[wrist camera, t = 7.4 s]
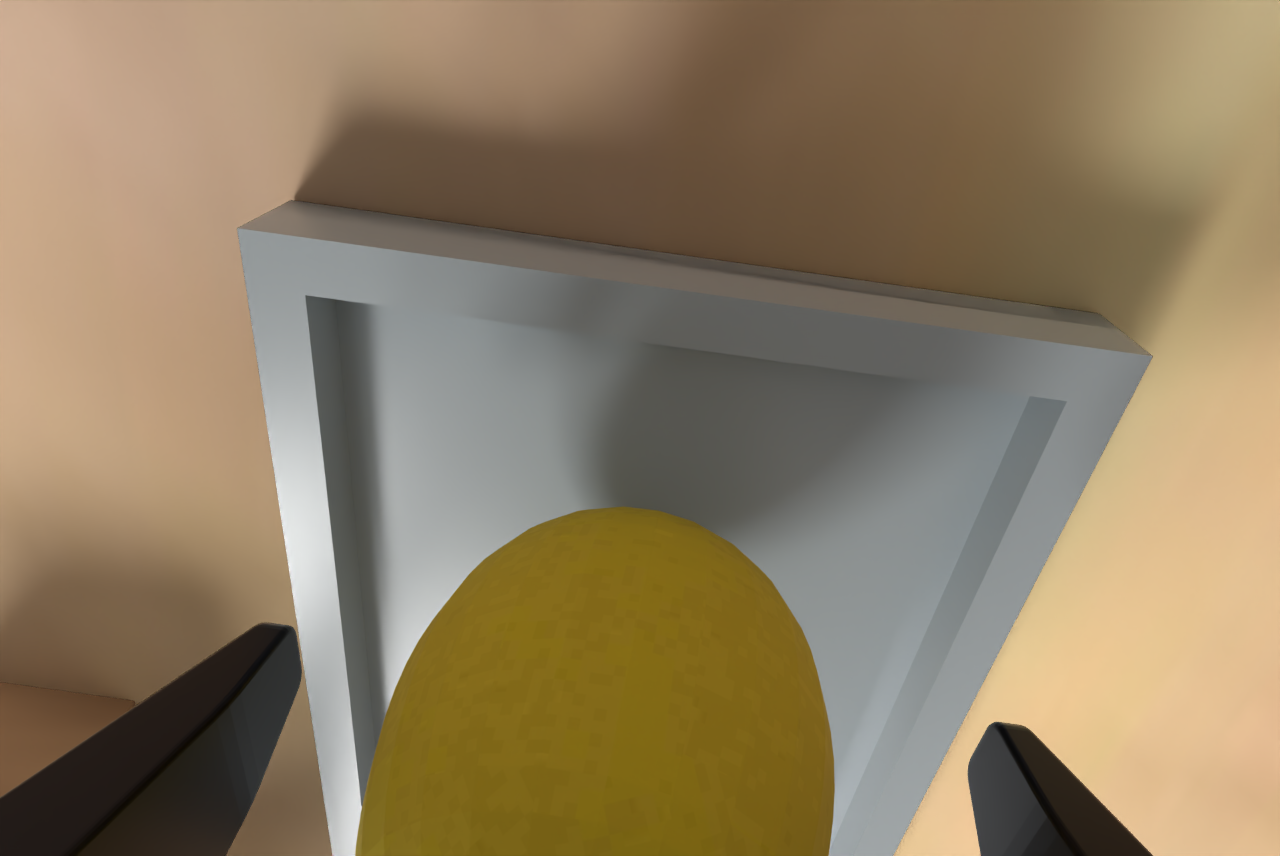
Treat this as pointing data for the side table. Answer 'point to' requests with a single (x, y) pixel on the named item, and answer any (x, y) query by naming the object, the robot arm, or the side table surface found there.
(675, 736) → the lemon
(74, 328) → the side table surface
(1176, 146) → the side table surface
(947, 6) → the side table surface
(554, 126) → the side table surface
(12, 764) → the walnut block
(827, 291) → the tray
